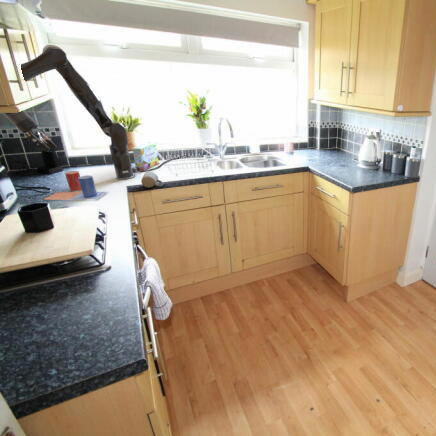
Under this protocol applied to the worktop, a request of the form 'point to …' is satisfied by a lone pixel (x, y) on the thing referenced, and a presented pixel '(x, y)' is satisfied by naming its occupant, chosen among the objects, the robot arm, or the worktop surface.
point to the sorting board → (71, 196)
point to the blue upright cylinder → (87, 186)
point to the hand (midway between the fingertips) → (51, 149)
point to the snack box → (145, 156)
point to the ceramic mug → (150, 180)
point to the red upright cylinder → (73, 180)
